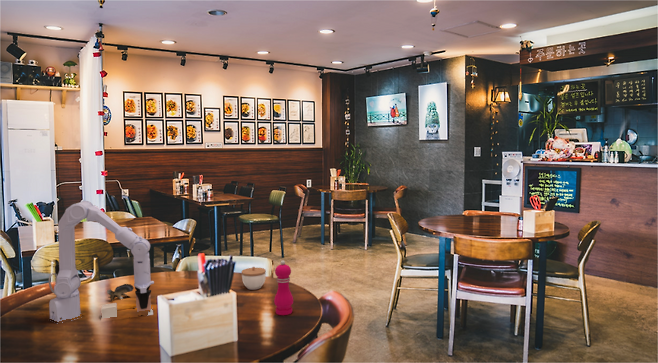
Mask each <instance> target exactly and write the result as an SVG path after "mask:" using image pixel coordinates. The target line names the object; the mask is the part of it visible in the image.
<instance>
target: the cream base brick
mask: <svg viewBox="0 0 658 363" xmlns="http://www.w3.org/2000/svg"><path fill="white" fill-rule="evenodd" d="M100 310H101V311H100V312H101V313H102V319H103V318H110V317H117V310H118V303H117V302H112V303H105V304H101V308H100Z"/></svg>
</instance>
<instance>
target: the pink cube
mask: <svg viewBox="0 0 658 363" xmlns="http://www.w3.org/2000/svg"><path fill="white" fill-rule="evenodd" d="M135 301H136V302H135V303H136V305H135V306H136V308H137V312H139V311H145V310H151V305H152V303H151V302H152V301H151V295H150V296H149V299H148V306H147V308H146V309H141V308H140V304H139V300H138V297H137V296H136V295H135Z"/></svg>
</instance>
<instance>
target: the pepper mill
mask: <svg viewBox="0 0 658 363" xmlns="http://www.w3.org/2000/svg"><path fill="white" fill-rule="evenodd" d="M291 273H292V268H291V266H290V265H288V264H286V261H285V260H281V261H280V264H279V265H277V266H276V267H275V269H274V274H275V276H276V282H277V291H276V293H275V296H274V300H273V301H274V302H273V303H274V305H275V306H276V307H275V314H276V315H279V316H288V315H291V314H292V313H293V306H292V305H293V304H294V297H293V294H292V292H291V290H290V284H289V283H290V281H291V279H290V278H291V277H290V275H291Z"/></svg>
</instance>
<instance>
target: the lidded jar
mask: <svg viewBox="0 0 658 363" xmlns="http://www.w3.org/2000/svg"><path fill="white" fill-rule="evenodd" d="M266 271H267V270H266V268H263V267H255V266H252V267H250V268H249V267H248V268H244V269H243V270H241V278H242V282H243V285H244V286H245V287H246V289H247V290H250V291H251V290H259V289H261V288H262V286H263V285H264V284H265V281H266V273H267V272H266Z"/></svg>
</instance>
